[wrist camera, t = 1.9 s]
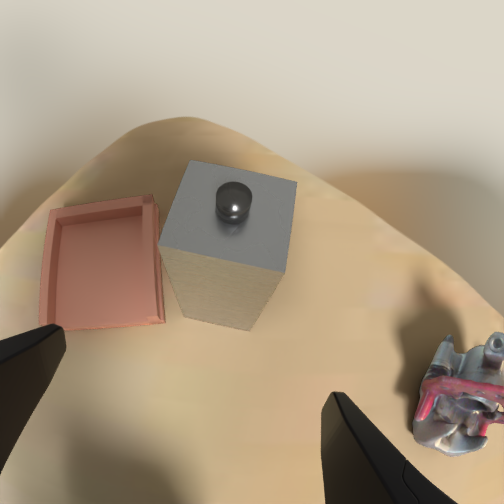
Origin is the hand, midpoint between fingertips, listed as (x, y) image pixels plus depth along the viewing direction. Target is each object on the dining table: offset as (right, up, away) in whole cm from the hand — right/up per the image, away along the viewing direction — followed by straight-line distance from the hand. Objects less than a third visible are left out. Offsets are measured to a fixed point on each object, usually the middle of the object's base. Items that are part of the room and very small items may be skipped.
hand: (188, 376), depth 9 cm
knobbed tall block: (0, 0, +15) cm, 15 cm away
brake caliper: (+20, -10, +13) cm, 25 cm away
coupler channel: (-10, +2, +14) cm, 18 cm away
